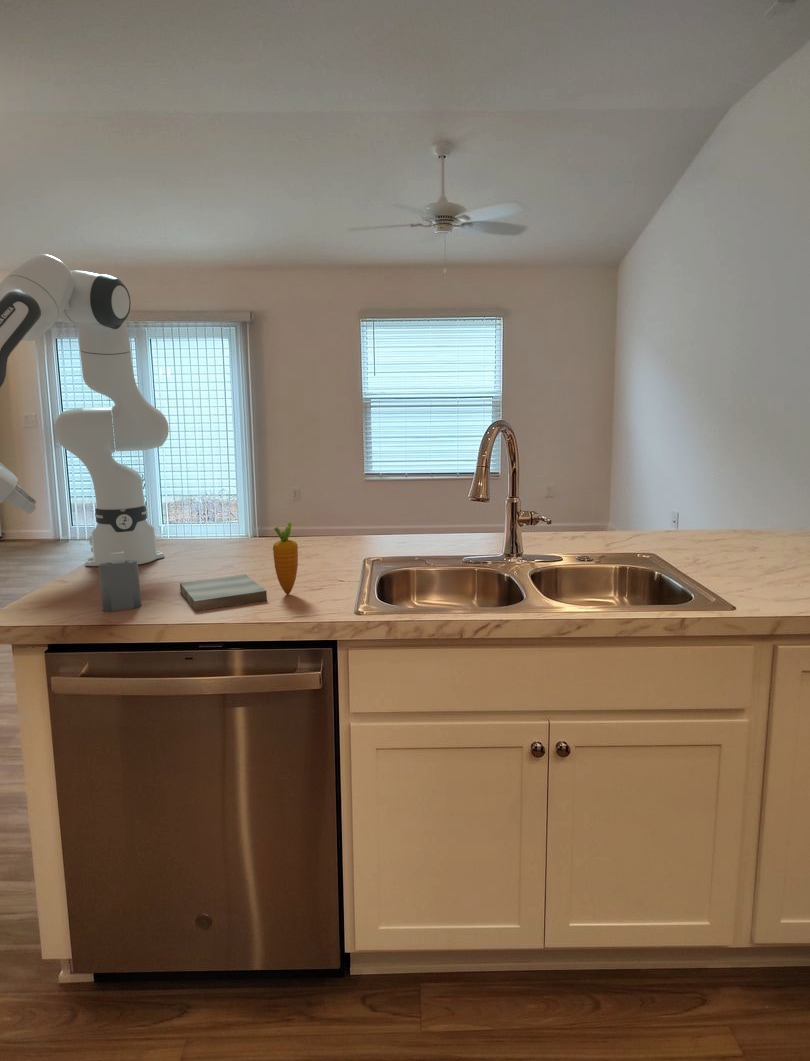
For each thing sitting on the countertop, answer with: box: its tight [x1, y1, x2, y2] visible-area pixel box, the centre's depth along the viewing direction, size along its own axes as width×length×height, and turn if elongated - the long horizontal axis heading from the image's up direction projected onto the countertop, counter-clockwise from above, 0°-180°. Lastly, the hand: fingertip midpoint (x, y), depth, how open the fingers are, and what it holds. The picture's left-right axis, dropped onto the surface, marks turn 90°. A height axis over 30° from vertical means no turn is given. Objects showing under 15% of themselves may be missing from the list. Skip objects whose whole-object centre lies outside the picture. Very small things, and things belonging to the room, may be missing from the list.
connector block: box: [97, 552, 142, 612], centre depth 130 cm, size 7×3×11 cm, turn 118°
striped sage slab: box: [179, 573, 268, 612], centre depth 138 cm, size 16×14×2 cm
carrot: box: [272, 521, 299, 596], centre depth 137 cm, size 5×5×15 cm
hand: (33, 507), depth 121 cm, fingers open, 8 cm apart
